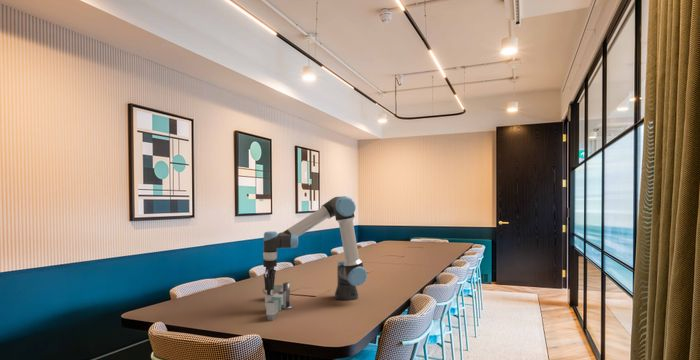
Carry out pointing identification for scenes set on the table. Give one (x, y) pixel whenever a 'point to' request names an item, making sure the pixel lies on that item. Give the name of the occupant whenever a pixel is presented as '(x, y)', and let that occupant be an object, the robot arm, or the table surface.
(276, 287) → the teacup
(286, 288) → the riser post
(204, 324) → the table surface
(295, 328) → the table surface
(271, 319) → the duct stub
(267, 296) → the elbow
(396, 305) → the table surface
